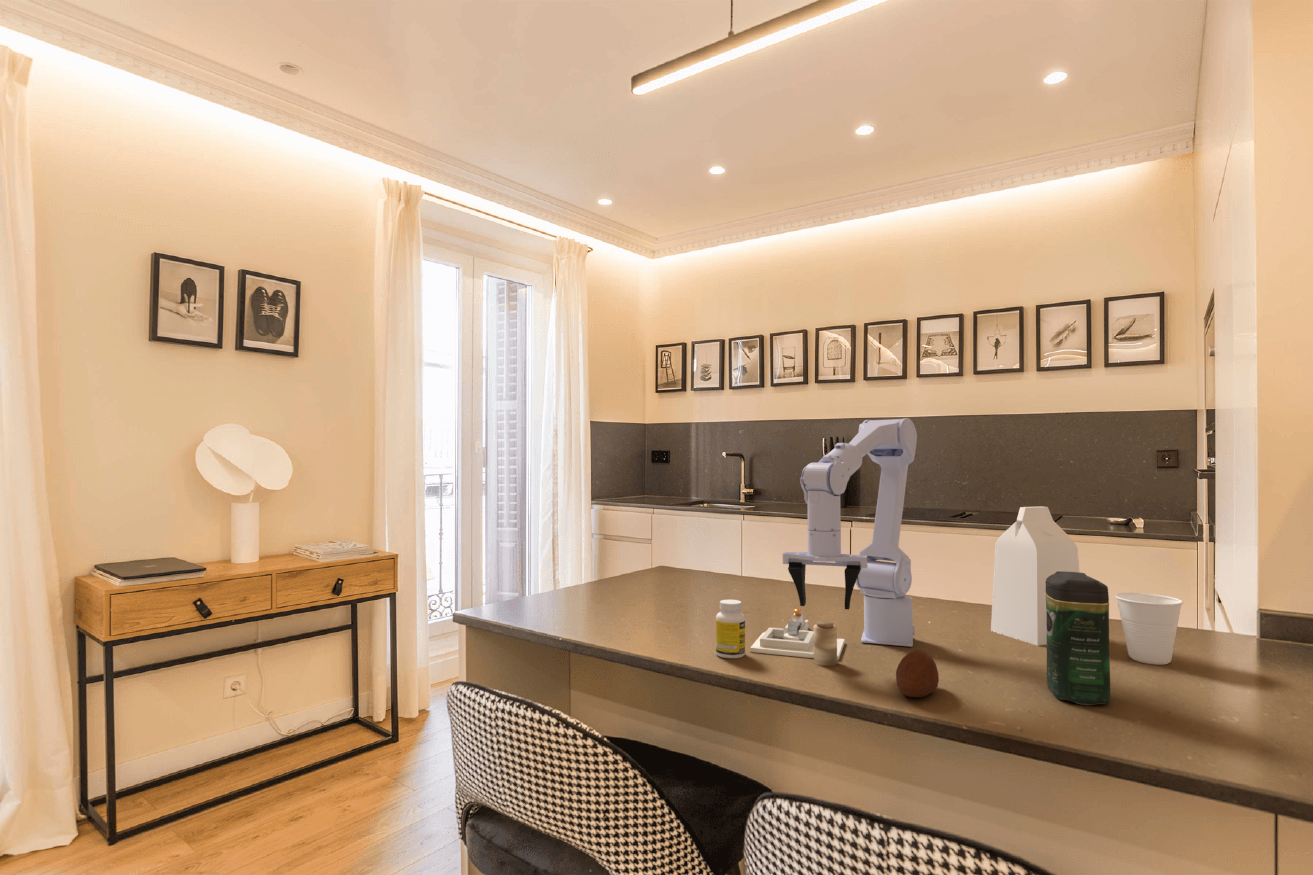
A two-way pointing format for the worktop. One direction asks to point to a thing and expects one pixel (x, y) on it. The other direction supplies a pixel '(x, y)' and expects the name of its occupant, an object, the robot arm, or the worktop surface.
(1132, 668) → the worktop surface
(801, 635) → the dock
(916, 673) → the potato
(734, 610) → the supplement bottle
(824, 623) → the beige lidded canister
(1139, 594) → the cup
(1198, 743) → the worktop surface
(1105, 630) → the coffee jar
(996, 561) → the milk
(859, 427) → the robot arm
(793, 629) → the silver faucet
